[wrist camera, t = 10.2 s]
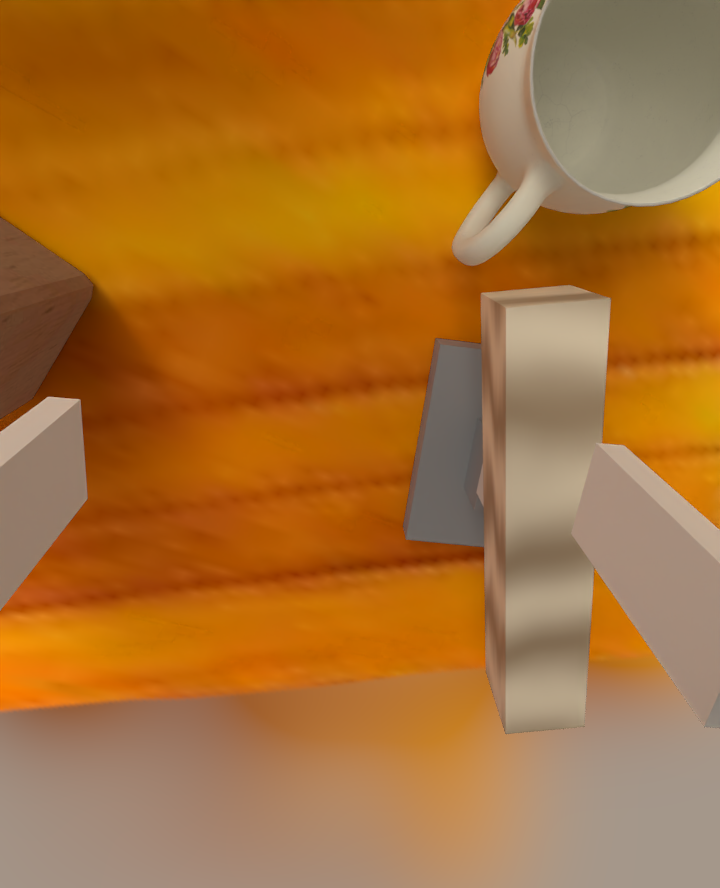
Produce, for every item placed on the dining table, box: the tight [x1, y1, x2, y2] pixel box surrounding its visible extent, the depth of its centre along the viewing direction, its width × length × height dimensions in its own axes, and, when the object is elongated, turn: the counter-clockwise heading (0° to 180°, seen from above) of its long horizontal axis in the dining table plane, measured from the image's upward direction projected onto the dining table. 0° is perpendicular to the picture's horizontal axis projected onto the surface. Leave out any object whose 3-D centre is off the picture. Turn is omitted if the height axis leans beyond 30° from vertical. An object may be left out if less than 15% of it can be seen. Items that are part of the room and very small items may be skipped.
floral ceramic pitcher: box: [452, 0, 720, 266], centre depth 29 cm, size 11×18×14 cm, turn 141°
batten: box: [481, 285, 611, 734], centre depth 33 cm, size 24×4×5 cm, turn 5°
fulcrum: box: [403, 338, 484, 547], centre depth 39 cm, size 14×10×8 cm
